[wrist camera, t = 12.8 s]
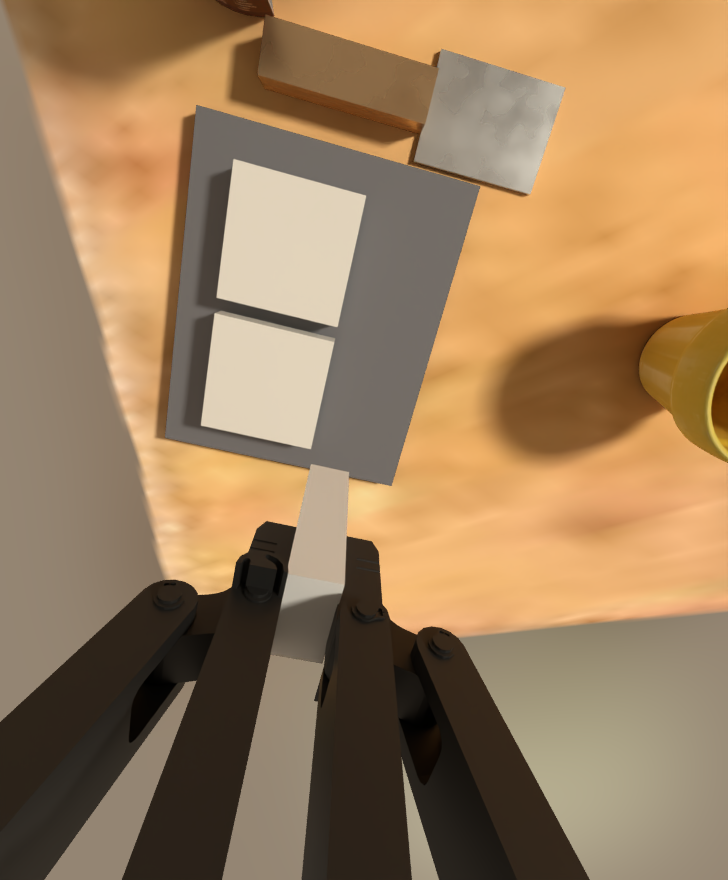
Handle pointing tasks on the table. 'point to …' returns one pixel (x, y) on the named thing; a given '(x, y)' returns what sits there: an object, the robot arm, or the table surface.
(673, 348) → the plant pot
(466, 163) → the turner
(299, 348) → the tile
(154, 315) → the table surface
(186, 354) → the mat
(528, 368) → the table surface
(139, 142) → the table surface
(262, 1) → the food container
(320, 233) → the tile
